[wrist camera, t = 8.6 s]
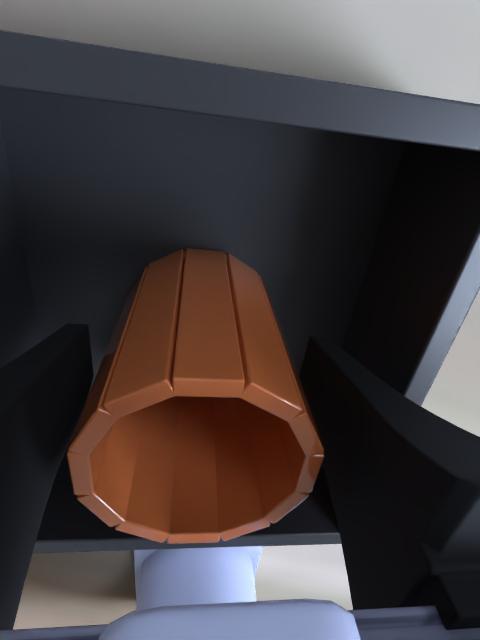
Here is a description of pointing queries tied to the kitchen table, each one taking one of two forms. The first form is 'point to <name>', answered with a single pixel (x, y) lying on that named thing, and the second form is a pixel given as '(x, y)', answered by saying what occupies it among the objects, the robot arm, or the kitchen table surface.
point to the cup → (195, 409)
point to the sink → (232, 220)
